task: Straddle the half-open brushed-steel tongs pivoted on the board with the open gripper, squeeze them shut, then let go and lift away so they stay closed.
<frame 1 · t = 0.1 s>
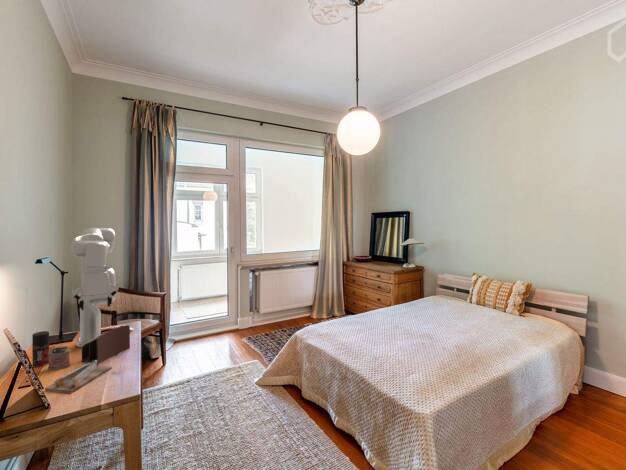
hand: (95, 307, 135), 31 cm above the table, fingers open, 9 cm apart
deodorant: (40, 364, 145), on the table
letter holder: (106, 355, 158), on the table
board: (94, 369, 141), on the table
tongs fixed: (78, 372, 133), on the board, point 3 cm above the table
tongs arm: (84, 373, 132), point 3 cm above the table, hinge at 15.0°
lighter: (59, 367, 143), on the table
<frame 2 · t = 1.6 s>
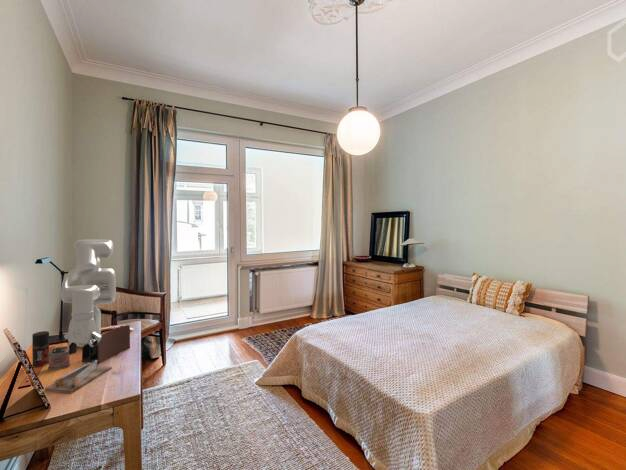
hand: (82, 354, 134), 10 cm above the table, fingers open, 9 cm apart
nothing on the table moved.
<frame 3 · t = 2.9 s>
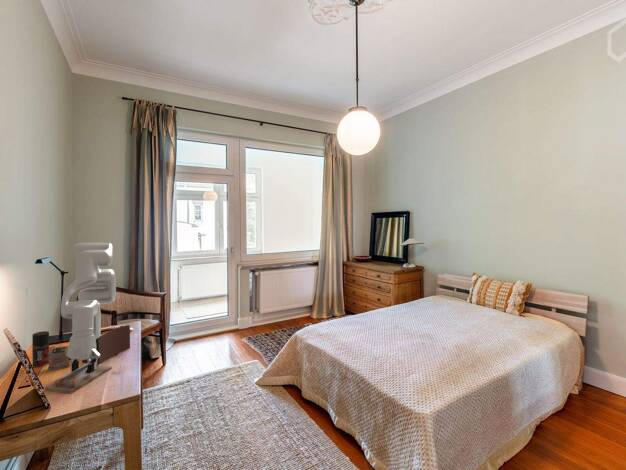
hand: (83, 371, 135), 2 cm above the table, fingers open, 7 cm apart
tongs arm: (84, 373, 132), point 3 cm above the table, hinge at 14.5°, touching gripper
everything else where it was.
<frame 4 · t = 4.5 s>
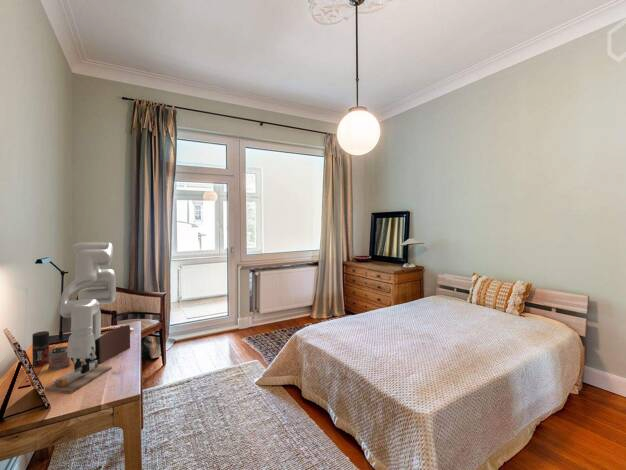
hand: (81, 371, 134), 2 cm above the table, fingers open, 3 cm apart
tongs arm: (78, 373, 132), point 3 cm above the table, hinge at -0.6°, touching gripper
everything else where it was.
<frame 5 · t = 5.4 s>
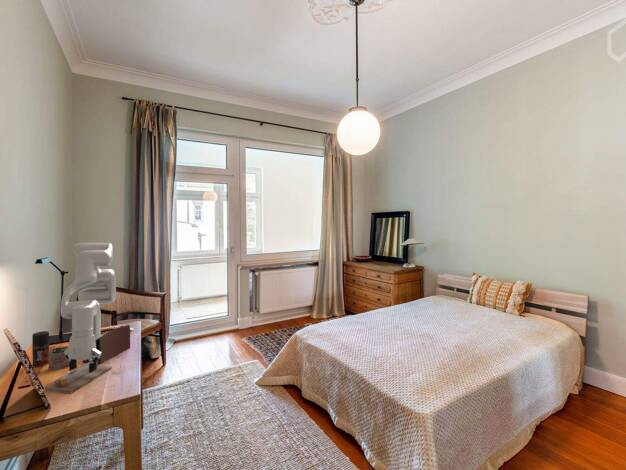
hand: (82, 370, 135), 3 cm above the table, fingers open, 9 cm apart
tongs arm: (78, 373, 132), point 3 cm above the table, hinge at -0.6°
everything else where it was.
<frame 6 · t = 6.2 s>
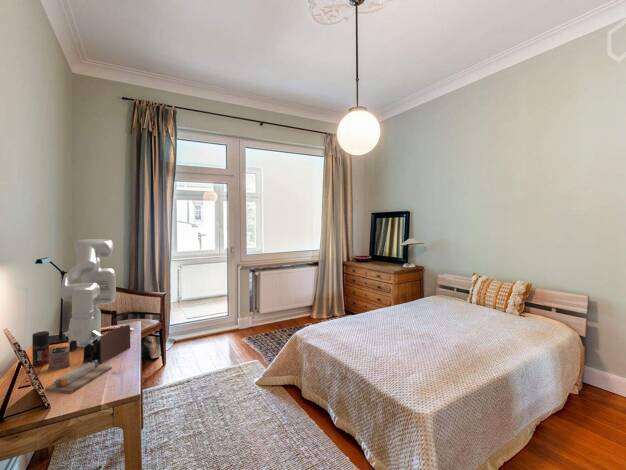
hand: (83, 351, 135), 11 cm above the table, fingers open, 9 cm apart
nothing on the table moved.
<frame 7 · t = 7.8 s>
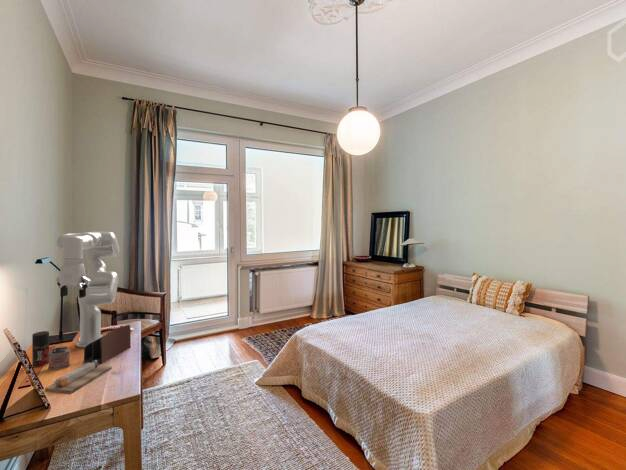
hand: (73, 296, 145), 33 cm above the table, fingers open, 9 cm apart
nothing on the table moved.
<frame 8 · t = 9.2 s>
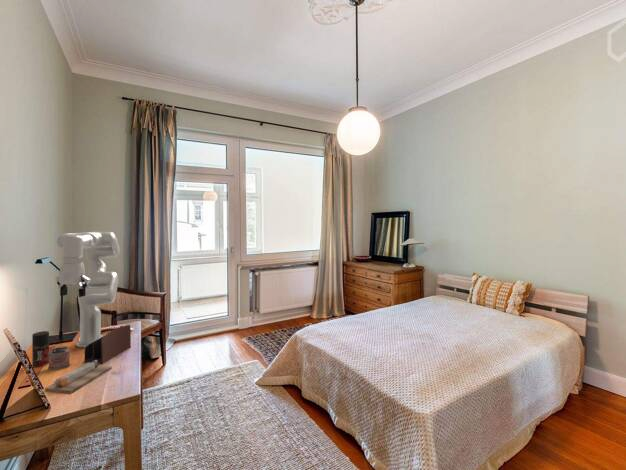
hand: (72, 295, 145), 33 cm above the table, fingers open, 9 cm apart
at the end: tongs arm at -1° (first picture: +15°) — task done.
